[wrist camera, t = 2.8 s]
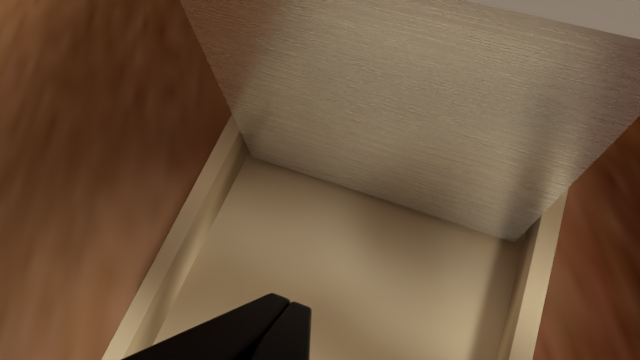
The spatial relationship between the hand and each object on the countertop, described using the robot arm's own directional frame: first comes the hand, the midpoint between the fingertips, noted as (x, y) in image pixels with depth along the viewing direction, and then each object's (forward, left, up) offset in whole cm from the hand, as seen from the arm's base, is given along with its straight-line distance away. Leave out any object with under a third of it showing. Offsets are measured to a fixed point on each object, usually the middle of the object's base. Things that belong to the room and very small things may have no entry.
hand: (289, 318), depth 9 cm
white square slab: (+5, -5, -7) cm, 10 cm away
